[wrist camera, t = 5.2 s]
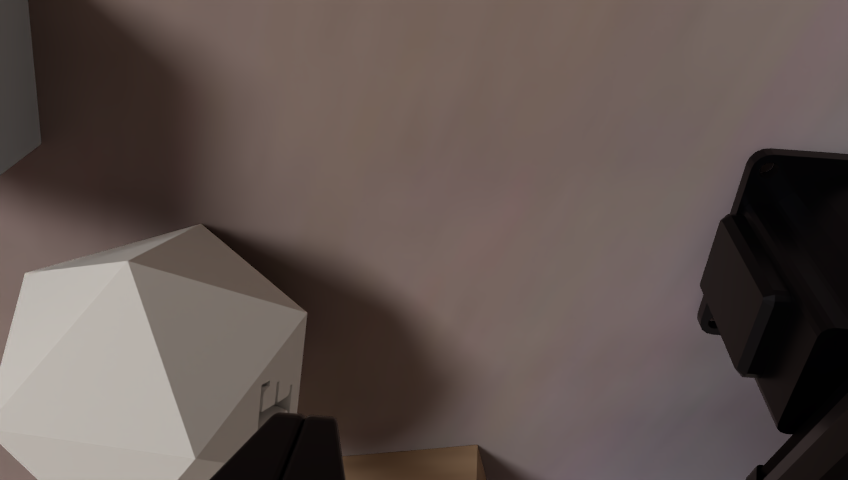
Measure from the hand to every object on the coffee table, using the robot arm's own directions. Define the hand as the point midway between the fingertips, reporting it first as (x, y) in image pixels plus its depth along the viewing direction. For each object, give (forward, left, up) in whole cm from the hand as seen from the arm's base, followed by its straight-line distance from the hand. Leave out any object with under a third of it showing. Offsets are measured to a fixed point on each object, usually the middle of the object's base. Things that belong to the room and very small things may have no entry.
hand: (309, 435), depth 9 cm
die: (+7, +8, -13) cm, 16 cm away
